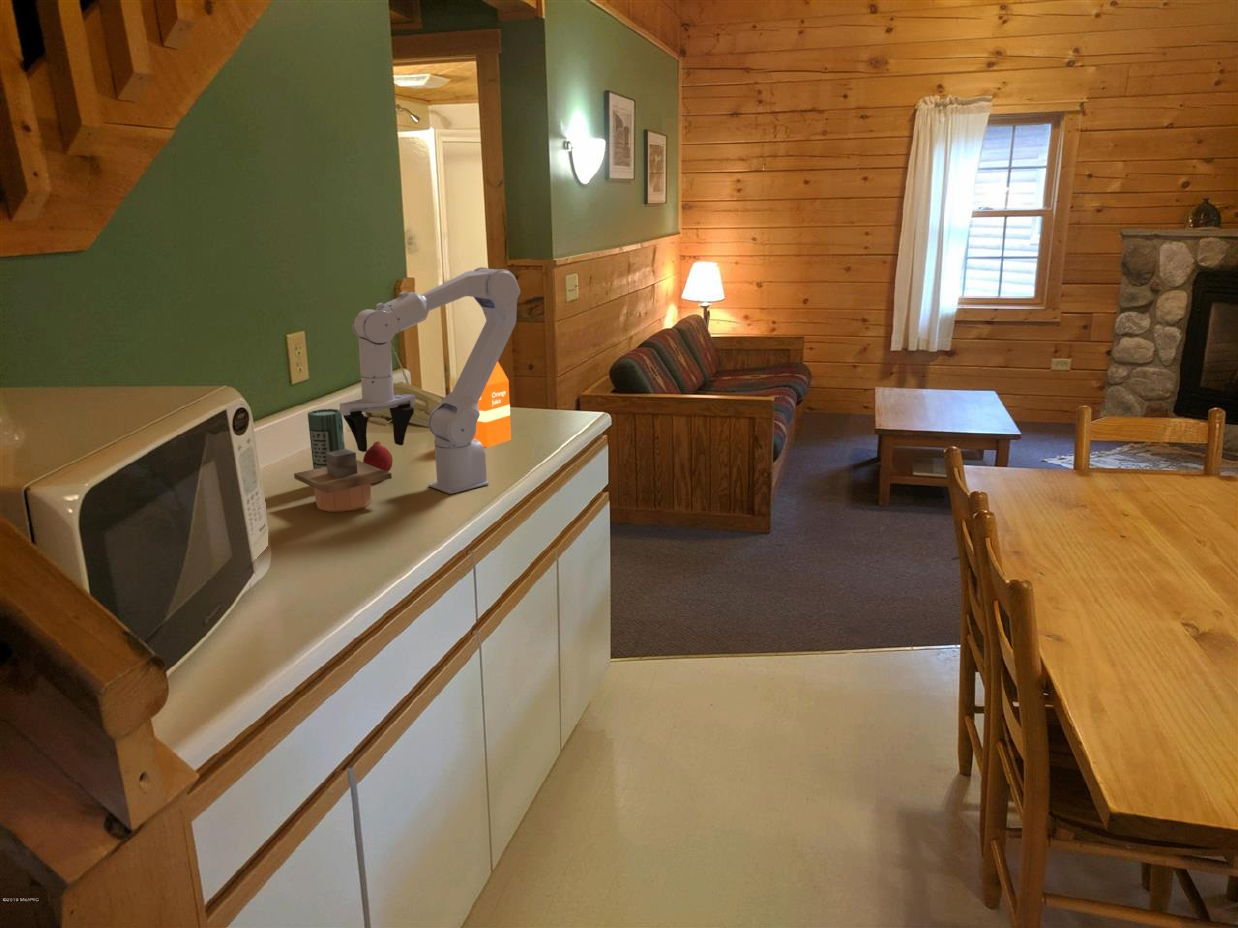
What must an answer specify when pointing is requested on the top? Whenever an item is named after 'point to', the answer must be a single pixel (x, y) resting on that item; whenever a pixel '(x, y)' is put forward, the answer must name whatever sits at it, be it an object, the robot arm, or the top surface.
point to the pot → (344, 499)
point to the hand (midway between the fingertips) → (381, 447)
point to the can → (325, 434)
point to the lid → (342, 473)
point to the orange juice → (494, 410)
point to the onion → (378, 457)
